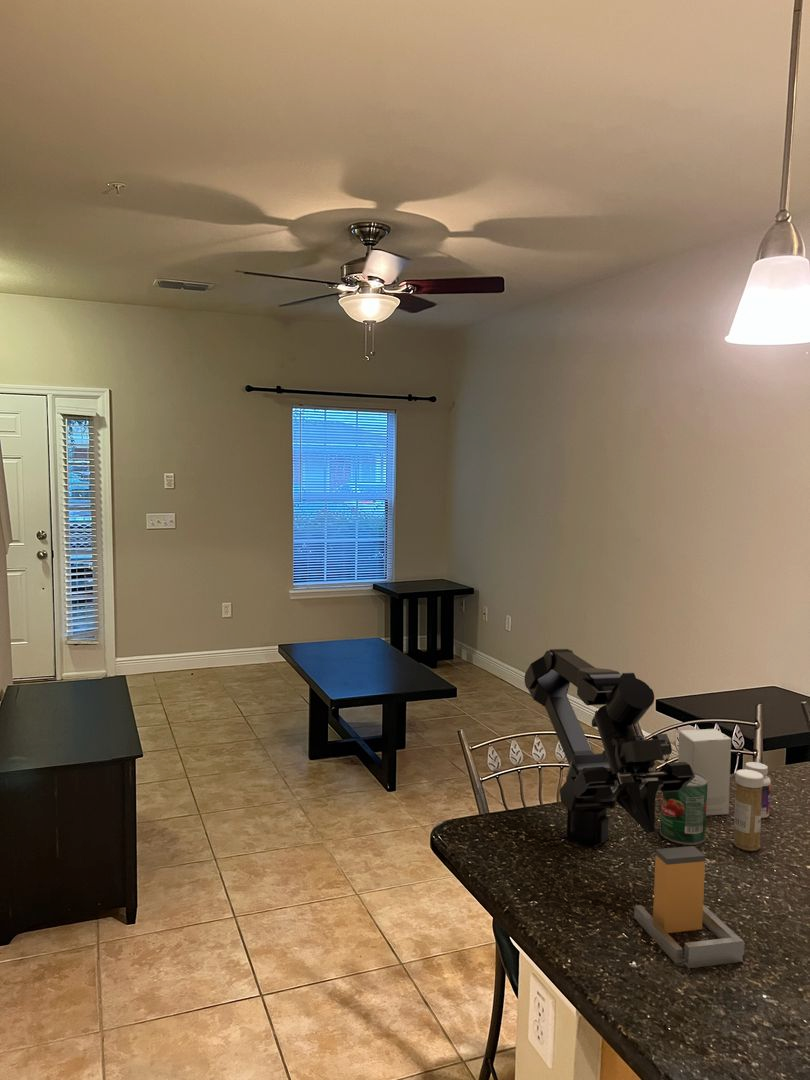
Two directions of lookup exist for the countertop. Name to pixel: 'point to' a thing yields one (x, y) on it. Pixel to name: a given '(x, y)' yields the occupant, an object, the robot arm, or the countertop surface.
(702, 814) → the canned tomato
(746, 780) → the sprinkles bottle
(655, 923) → the gray rectangular tray
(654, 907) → the tan tall block
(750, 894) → the countertop surface
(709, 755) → the skincare box
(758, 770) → the pill bottle
